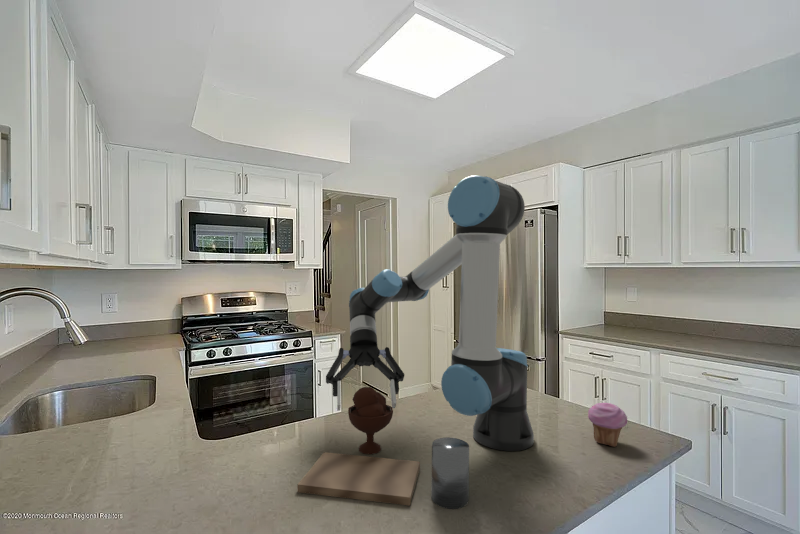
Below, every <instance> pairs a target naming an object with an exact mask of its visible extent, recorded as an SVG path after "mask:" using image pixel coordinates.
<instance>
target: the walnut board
mask: <svg viewBox="0 0 800 534" xmlns="http://www.w3.org/2000/svg"><path fill="white" fill-rule="evenodd" d="M420 469H421V461H417V460H416V461H415V460H407V459H397V458H386V457H377V456H367V455H366V456H365V455H355V454H348V453H347V454H345V453H336V452H326V451H324V452H323V453H322V454H321V455H320V456H319V457H318V458H317V460H316V461H315V462H314V464H313V465H312V466H311V467H310V469H309V470H308V471H307V472H306V474H305V475H304V476H303V477H302V478H301V479H300V481H299V482H298V483H297V486H296V487H297V489H296V493H299V494H301V493H302V494H308V495H315V496H316V495H319V496H325V497H332V498H334V497H335V498H344V499H351V500H358V501H359V500H360V501H368V502H378V503H386V504H395V505H400V506H401V505H402V506H409V507H410V506H411V504H412V499H413V496H414V491H415V489H416V485H417V481H418V477H419V474H420Z"/></svg>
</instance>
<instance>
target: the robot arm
mask: <svg viewBox="0 0 800 534" xmlns="http://www.w3.org/2000/svg"><path fill="white" fill-rule="evenodd" d="M448 197H449V198H448V201H447V212H448V215H449V217H450V218H451V220H452V221H453V222H454V223H455V224H456V225H455V226H456V227H455V228H456V231H455V235H454V236H453V237H451V238H450V239H449V240H448V241H447V242H446V243H444V244H443V245H442V246H441V247H439V249H437V250H436V251H434V252H433V253H432V254H431V255H430V256H428V257H427V258H426V259H425V260H424V261H423V262H421V263H420V264H419V265H418V266H416V267H415V269H413V270H412V271H410V272H409V273H408V274H406V275H405V276H400V275H399V274H398V272H396V271H393V270H391V269H389V268H388V269H387V268H385V269H383V270H381V271H380V272H379V273H378V274H376V275H375V276H374V277H373V278H372V280H371V281H370V282H369V283H368V284H367V285H366V286H365V287H359V288H358V287H357V289H353V290H352V291H351V292H350V295H349V300H348V301H349V302H348V310H349V335H350V336H349V343H350V344H349V347H350V348H349V349H348V350H347V349H344V348H343V347H340V348H339V349H338V355H337V356H336V358H335V359H334V362H333V363H332V365H331V367H330V368H329V370H328V372H327V374H326V375H325V383H326V384H327V385H329V384H331V385H332V397H336V399H337V401H336V403H337V404H336V409H337V411H341V405H342V404H341V403H342V402H341V399H342V397H341V392H342V391H341V388H342V386H341V384H342V383H341V382H342V380H343V379H344V378H345V377H346V376H347V375H348V373H350V372H351V370H352V369H354V368H356V366H358V367H364V366H365V367H371V366H373V367H374V368H375V369H377V370H379V371H380V373H381V374H383V375H384V376H385V377H386V378H387V379H388V380H389V381H390V383H389V388H390V400H391V407H392V409H395V408H397V407H396V406H397V396H396V395H398V394H399V392H400V386H399V382H403V381H404V379H405V372H404V371H403V370H402V368H401V367H400V366H399V364H398V363H397V361H396V359H395V357H394V356H393V355H392V353H391V350H390V348H389V347H387V346H386V347H385V348H384V349H380V348H379V347H378V337H377V326H376V325H377V324H376V322H377V319H376V313H378V311H380V310H381V309H382V308H383V307H384V306H385V305H386V304H388V303H396V302H397V303H398V302H417V301H420V300H424V299H425V298H427V296H428V294H429V291H430V289H431V288H432V287H434V286H435V285H436V284H438V283H439V282H440V281H441V280H443V279H444V278H445V277H447V276H448V275H450V274H451V273H452V272H454V271H455V270H456V269H457V268H459V267H460V266H461V270H460V299H459V301H460V302H459V326H458V327H459V329H458V331H459V332H458V344H457V346H455V348H453V349H452V351H451V364H450V365H449V366H448V367H447V368H446V369H445V371H443V373H442V377H441V384H440V385H441V391H442V394H443V398H444V399H445V400H446V402H448V403H449V406H450V407H451V408H452V409H453V410H454V411H455V412H457V413H459V414H461V415H464V416H466V417H468V416H469V417H473V416H475V417H476V418H475V420H474V424H473V426H472V427H473V428H472V436H473V439H474V440H475V441H476V442H477V443H479V444H481V445H482V446H485V447H487V448H490V449H493V450H498V451H508V452H517V451H524V450H527V449H529V448H532V447H533V445H534V441H535V440H534V439H535V436H534V430H533V427H532V424H531V420H530V418H529V414H528V411H527V410H528V408H527V406H528V405H527V402H528V401H527V400H528V394H527V393H528V367H529V365H528V357H527V355H526V353H525V352H523V351H519V350H515V349H509V348H501V347H497V332H498V331H497V330H498V302H499V279H500V251H501V249H500V248H501V243H502V242H503V241H504V240H505V239H506V238H507V237H508V235H509V233H510V234H511V232H512V231H513V230H515V228H516V227H517V226H518V225H519V224H520V223H521V221H522V220H523V217H524V215H525V200H524V198H523V196H522V194H521V193H520V191H519V190H517V189H516V188H515V187H514V186H512V185H509V184H507V183H503V182H501V181H498V180H495V179H493V178H491V177H490V176H483V175H470V176H466V177H465V178H463V179H461V180H459V182H458V183H457V184H456V185H455V186H454V187H453V189H452V190H451V192H450V195H449V196H448ZM347 356H348V357H349V358H350V359H349V360H348V361H347V363H346V364H345V365H344V366H343V367H342V368H341V369H340V370H339V368H340V366H341V364H342V363H343V360H345V359H346V357H347ZM379 356H382V358H383V359H385V361H386V363H387V365H388V366H387V365H386V364H385V363H384V362H383V360H381V358H380V357H379ZM338 370H339V371H338ZM337 371H338V372H337Z"/></svg>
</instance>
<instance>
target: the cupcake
mask: <svg viewBox="0 0 800 534" xmlns="http://www.w3.org/2000/svg"><path fill="white" fill-rule="evenodd" d="M587 411H588V413H587V417H588V420H589V421H590V422H591V423H592V426H593V438H594V439H593V440H594V441H595V442H596V443H598V444H601V445H607V446H609V447H614V448H615V447H617V445H618V441H619V438H620V434H621V431H622V429H623V428H624V427H625V426H627V424H628V416H627V415H626V413H625V411H624V410H623V409H622V408H621V407H619V406H618V405H616V404H614V403H611V402H598V403H595V404H594V405H591V407H589V408H588V410H587Z"/></svg>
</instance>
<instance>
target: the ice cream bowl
mask: <svg viewBox="0 0 800 534" xmlns="http://www.w3.org/2000/svg"><path fill="white" fill-rule="evenodd" d="M352 402H353V405H352V406H349V407H348V411H347V412H348V413H347V414H348V419H349V422H350V423H351V425H352V426H353V427H354V428H355V429H357V430H358V431H360V432H362V433H364V434H365V435H366V441H365V442H362V444H360V445H358V452H360V453H362V454H364V455H365V454H366V455H375V454H379V453H380V452H381V451H382V447H381V444H379V443H377V442H375V441H374V437H375V434H376V433H378V432H380V431H382V430H383V429H385V428H386V427H387V426H388V425H389V424H390V423H391V421H392V419H393V414H394V410H393V409H394V408H392V405H391V406H390V405H388V404H387V398H386V397H385V396H384V395H383V394H381V392H378V391H376V390H375V389H374V388H373V387H371V386H368V387H367V386H363V387H361V388H359V389H358V390H357V391H356V392H354V395H353V397H352Z"/></svg>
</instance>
